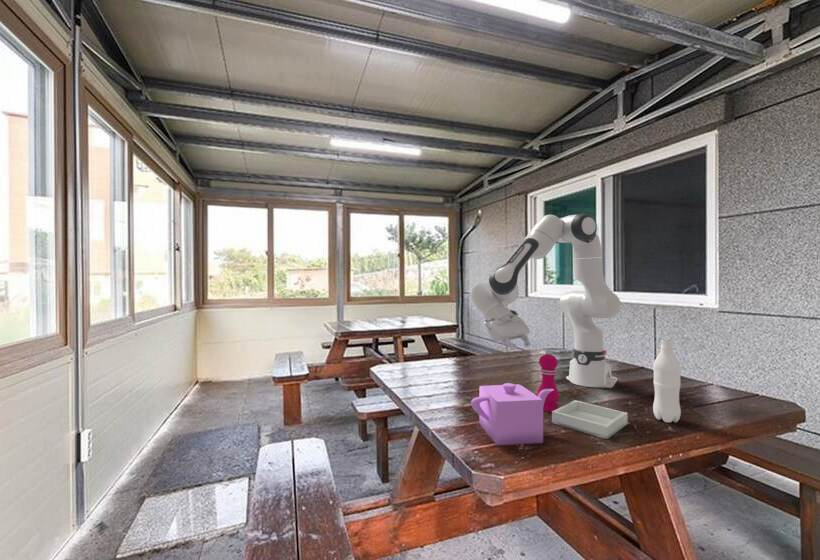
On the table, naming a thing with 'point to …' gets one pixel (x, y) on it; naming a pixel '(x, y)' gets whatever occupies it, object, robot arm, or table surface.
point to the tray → (590, 419)
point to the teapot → (511, 413)
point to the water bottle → (667, 384)
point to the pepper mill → (549, 381)
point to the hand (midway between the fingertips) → (522, 347)
